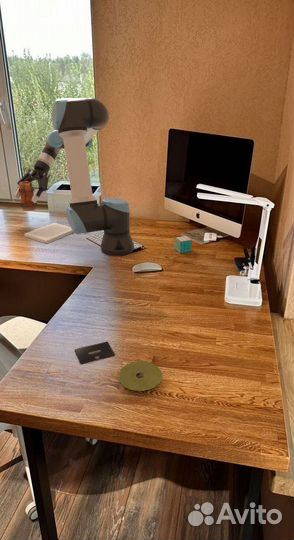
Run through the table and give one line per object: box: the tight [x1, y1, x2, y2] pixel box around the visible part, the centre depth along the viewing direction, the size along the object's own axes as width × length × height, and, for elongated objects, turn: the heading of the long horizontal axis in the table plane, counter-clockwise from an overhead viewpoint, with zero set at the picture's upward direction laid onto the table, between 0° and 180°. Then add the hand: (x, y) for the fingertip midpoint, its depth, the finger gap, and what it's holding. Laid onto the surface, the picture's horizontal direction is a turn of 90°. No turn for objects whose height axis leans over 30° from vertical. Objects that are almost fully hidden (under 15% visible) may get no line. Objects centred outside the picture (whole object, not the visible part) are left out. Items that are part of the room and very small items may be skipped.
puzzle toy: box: [174, 235, 193, 254], centre depth 179 cm, size 6×6×6 cm
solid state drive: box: [74, 341, 116, 365], centre depth 114 cm, size 7×10×1 cm
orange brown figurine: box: [17, 181, 38, 212], centre depth 201 cm, size 15×8×15 cm, turn 22°
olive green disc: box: [117, 360, 163, 392], centre depth 103 cm, size 11×11×2 cm
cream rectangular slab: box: [23, 222, 75, 244], centre depth 199 cm, size 16×20×2 cm
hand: (24, 199), depth 200 cm, fingers closed on orange brown figurine, 12 cm apart
